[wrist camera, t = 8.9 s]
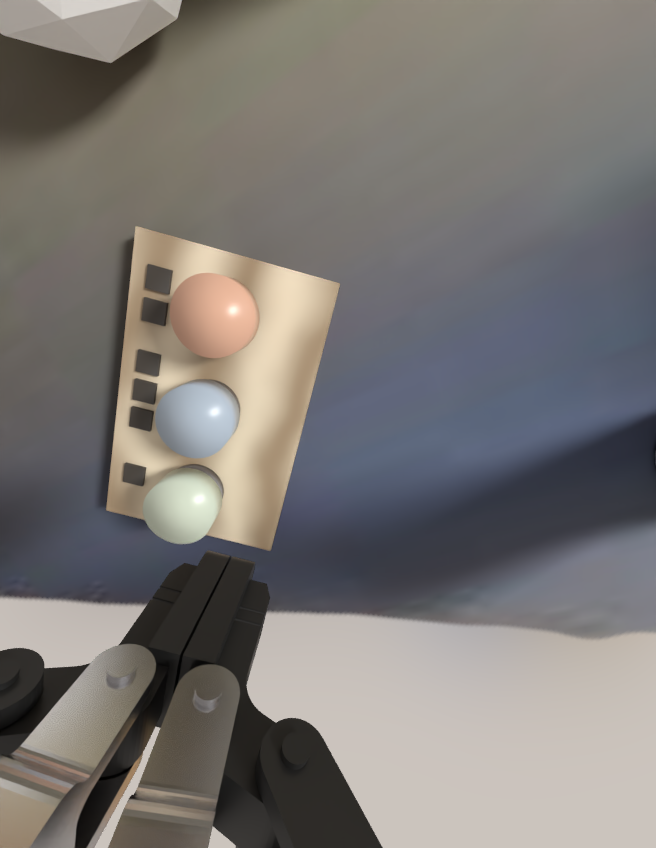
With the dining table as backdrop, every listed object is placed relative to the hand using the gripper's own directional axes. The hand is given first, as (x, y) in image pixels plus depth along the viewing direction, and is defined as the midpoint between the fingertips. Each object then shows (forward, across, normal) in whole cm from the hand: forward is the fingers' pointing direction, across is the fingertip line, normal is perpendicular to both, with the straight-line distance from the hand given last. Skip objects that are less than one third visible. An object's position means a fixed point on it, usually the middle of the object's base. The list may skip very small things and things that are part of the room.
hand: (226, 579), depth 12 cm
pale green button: (+17, +7, +8) cm, 20 cm away
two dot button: (+17, +7, -6) cm, 19 cm away
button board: (+20, +7, +1) cm, 21 cm away
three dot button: (+17, +7, +1) cm, 18 cm away
